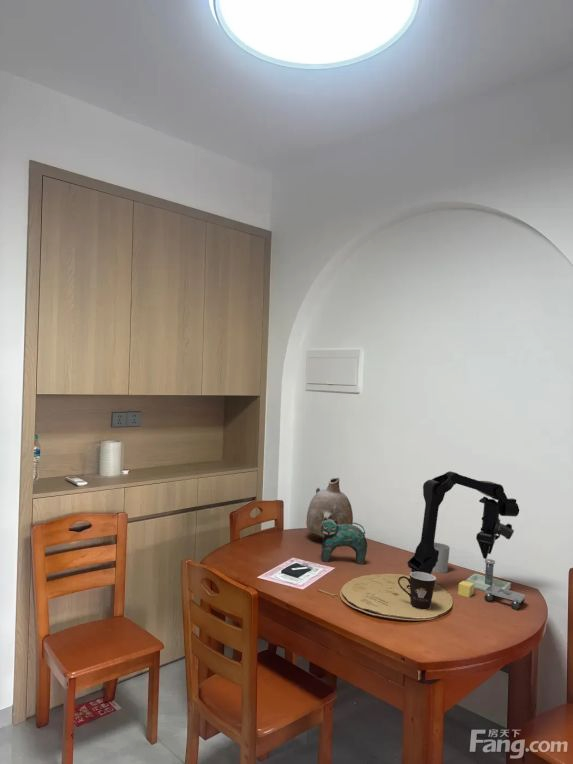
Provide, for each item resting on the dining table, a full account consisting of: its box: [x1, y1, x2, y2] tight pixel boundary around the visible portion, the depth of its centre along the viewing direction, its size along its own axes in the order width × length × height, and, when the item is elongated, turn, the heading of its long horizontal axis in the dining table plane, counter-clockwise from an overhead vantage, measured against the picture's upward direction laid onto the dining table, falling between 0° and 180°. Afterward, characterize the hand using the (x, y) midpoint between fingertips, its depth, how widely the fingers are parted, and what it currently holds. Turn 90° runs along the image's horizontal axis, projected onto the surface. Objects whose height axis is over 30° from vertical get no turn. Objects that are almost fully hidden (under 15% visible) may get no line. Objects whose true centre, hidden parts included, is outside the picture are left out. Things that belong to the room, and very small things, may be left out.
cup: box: [431, 542, 450, 574], centre depth 227 cm, size 8×8×10 cm
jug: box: [305, 477, 354, 540], centre depth 256 cm, size 24×21×30 cm
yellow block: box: [457, 580, 475, 598], centre depth 200 cm, size 5×4×4 cm
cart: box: [484, 585, 526, 611], centre depth 196 cm, size 12×9×4 cm
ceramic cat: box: [320, 513, 368, 565], centre depth 226 cm, size 20×6×20 cm, turn 92°
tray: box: [465, 573, 512, 594], centre depth 210 cm, size 11×14×2 cm
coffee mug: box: [397, 571, 437, 610], centre depth 186 cm, size 12×9×10 cm
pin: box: [484, 558, 496, 585], centre depth 210 cm, size 4×4×10 cm
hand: (487, 556), depth 209 cm, fingers open, 9 cm apart
